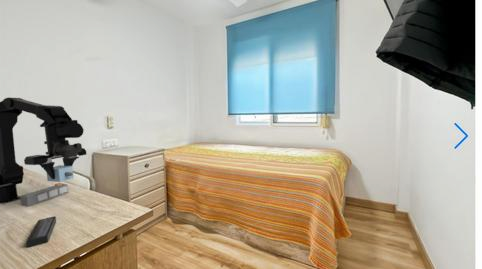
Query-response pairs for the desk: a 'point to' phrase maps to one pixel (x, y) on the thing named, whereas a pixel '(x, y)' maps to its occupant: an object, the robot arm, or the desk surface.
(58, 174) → the slate plug
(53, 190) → the power strip
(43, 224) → the multiport hub
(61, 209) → the desk surface
